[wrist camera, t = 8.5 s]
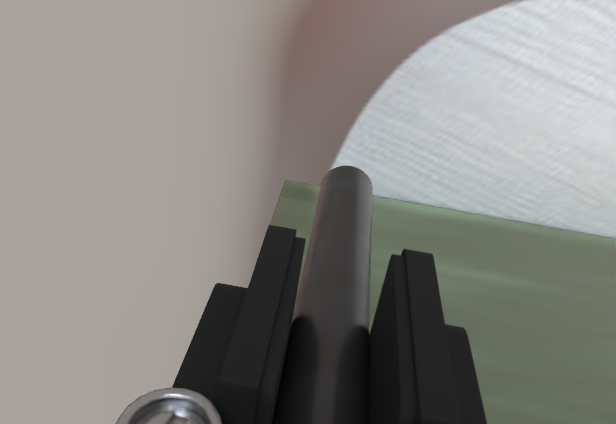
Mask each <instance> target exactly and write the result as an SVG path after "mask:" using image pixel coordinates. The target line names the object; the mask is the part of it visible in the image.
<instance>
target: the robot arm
mask: <svg viewBox="0 0 616 424" xmlns="http://www.w3.org/2000/svg"><path fill="white" fill-rule="evenodd" d="M305 241H306V238H300V237H296V229H292V228H286V227H280V226H275V225H269V226H268V229H267V232H266V235H265V238H264V241H263V244H262V247H261V250H260V253H259V257H258V259H257V262H256V265H255V269H254V272H253V275H252V278H251V281H250V284H249V287H248V288H243V287H238V286H232V285H226V284H221V283H217V284H216V285H215V287H214V289H213V291H212V293H211V296H210V298H209V300H208V303H207V305H206V307H205V310H204V312H203V315H202V317H201V319H200V322H199V324H198V327H197V329H196V331H195V334H194V336H193V339H192V341H191V343H190V346H189V348H188V351H187V353H186V355H185V358H184V360H183V363H182V365H181V367H180V370H179V372H178V375H177V377H176V379H175V382H174V384H173V386H172V388H165V389H159V390H154V391H152V392H149V393H147V394H145V395H143V396H140V397H139V398H138V399H136V400H135V401H134V402H132V403H131V404H130V405H128V407H127V408H126V409H125V410H124V412H123V413H122V414H121V416H120V417H119V418H118V420H117V422H116V424H272V421H273V416H274V411H275V406H276V400H277V395H278V390H279V385H280V380H281V375H282V370H283V365H284V360H285V355H286V350H287V345H288V340H289V335H290V330H291V325H292V319H293V313H294V307H295V301H296V295H297V289H298V283H299V277H300V271H301V265H302V259H303V253H304V248H305ZM367 424H487V421H486V416H485V412H484V407H483V403H482V398H481V393H480V389H479V384H478V380H477V375H476V370H475V366H474V361H473V357H472V352H471V347H470V343H469V338H468V335H467V332H466V330H465V329H464V328H463V327H459V326H453V325H448V324H445V321H444V315H443V310H442V304H441V298H440V292H439V286H438V280H437V274H436V268H435V262H434V257H433V254H432V253H426V252H421V251H415V250H409V249H403V251H402V253H401V255H396V254H392V255H391V257H390V260H389V264H388V268H387V271H386V275H385V279H384V282H383V286H382V290H381V294H380V297H379V301H378V305H377V309H376V312H375V316H374V320H373V324H372V327H371V331H370V335H369V370H368V415H367Z"/></svg>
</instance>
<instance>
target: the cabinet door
mask: <svg viewBox="0 0 616 424" xmlns="http://www.w3.org/2000/svg"><path fill="white" fill-rule="evenodd" d="M270 225H275V226H280V227H286V228H292V229H296V237H300V238H306V241H305V248H304V253H303V259H302V265H301V271H300V277H299V283H298V289H297V295H296V301H295V307H294V313H293V319H292V325H291V330H290V335H289V340H288V345H287V350H286V355H285V360H284V365H283V370H282V375H281V380H280V385H279V390H278V395H277V400H276V406H275V411H274V416H273V421H272V424H367V415H368V370H369V335H370V331H371V327H372V324H373V320H374V316H375V312H376V309H377V305H378V301H379V297H380V294H381V290H382V286H383V282H384V279H385V275H386V271H387V268H388V264H389V260H390V257H391V255H392V254H396V255H401V253H402V251H403V249H409V250H415V251H421V252H426V253H432V254H433V257H434V262H435V268H436V274H437V280H438V286H439V292H440V298H441V304H442V310H443V315H444V321H445V324H448V325H453V326H459V327H463V328H464V329H465V330H466V332H467V335H468V338H469V343H470V347H471V352H472V357H473V361H474V366H475V370H476V375H477V380H478V384H479V389H480V393H481V398H482V403H483V407H484V412H485V416H486V421H487V424H616V239H612V238H607V237H601V236H595V235H590V234H584V233H579V232H573V231H568V230H562V229H556V228H551V227H545V226H540V225H534V224H528V223H523V222H517V221H512V220H506V219H500V218H495V217H489V216H484V215H478V214H472V213H467V212H461V211H456V210H450V209H444V208H439V207H433V206H428V205H422V204H416V203H411V202H405V201H400V200H394V199H389V198H383V197H377V196H372V183H371V181H370V179H369V177H368V176H367V175H366V174H365V173H364V172H363V171H362V170H360V169H358V168H356V167H352V166H340V167H336V168H334V169H332V170H331V171H329V172H328V173H327V174H326V175H325V176H324V178H323V180H322V183H321V186H315V185H310V184H304V183H299V182H293V181H288V180H286V181H285V182H284V186H283V188H282V191H281V194H280V197H279V200H278V203H277V206H276V209H275V211H274V215H273V217H272V220H271V223H270Z"/></svg>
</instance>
